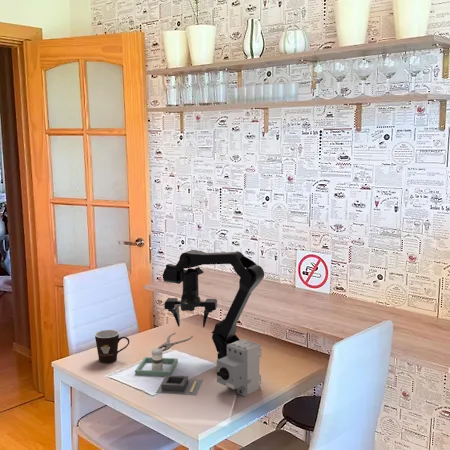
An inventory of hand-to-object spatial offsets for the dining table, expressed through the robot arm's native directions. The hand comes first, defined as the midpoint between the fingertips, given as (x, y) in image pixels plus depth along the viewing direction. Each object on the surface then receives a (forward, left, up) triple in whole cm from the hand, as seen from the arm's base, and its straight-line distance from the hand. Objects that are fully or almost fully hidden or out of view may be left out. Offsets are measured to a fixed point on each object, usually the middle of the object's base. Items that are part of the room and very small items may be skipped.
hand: (191, 326), depth 210 cm
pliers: (+10, -15, -13) cm, 21 cm away
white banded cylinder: (+10, +13, -11) cm, 20 cm away
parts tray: (+10, +13, -12) cm, 20 cm away
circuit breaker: (-20, +26, -12) cm, 35 cm away
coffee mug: (+29, +6, -12) cm, 32 cm away
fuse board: (-1, +26, -12) cm, 29 cm away
